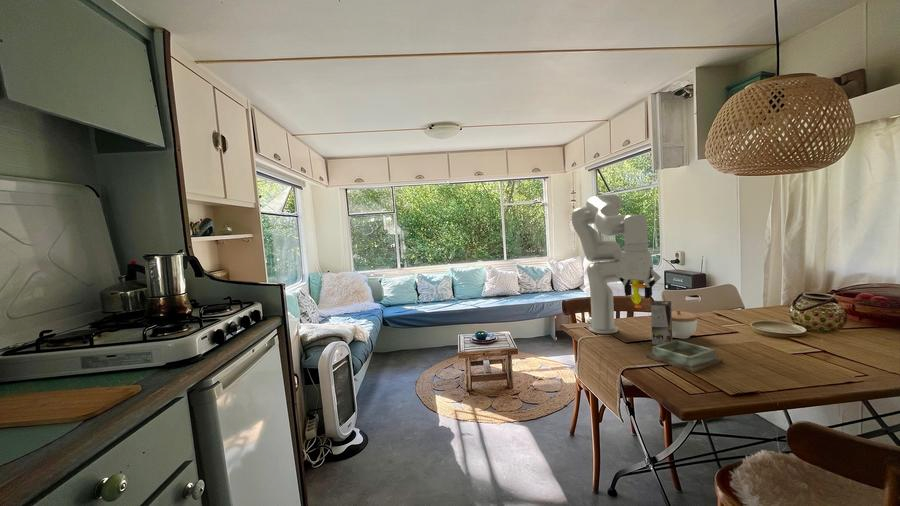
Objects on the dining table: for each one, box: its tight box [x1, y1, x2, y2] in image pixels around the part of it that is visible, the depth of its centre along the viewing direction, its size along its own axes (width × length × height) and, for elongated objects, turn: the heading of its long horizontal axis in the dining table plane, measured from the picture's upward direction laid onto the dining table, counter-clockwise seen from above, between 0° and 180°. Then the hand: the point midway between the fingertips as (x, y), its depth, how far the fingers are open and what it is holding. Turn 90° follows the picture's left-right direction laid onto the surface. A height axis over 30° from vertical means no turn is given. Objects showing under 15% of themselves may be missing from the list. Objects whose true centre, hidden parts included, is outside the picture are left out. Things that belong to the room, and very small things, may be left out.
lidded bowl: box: [671, 309, 698, 340], centre depth 145 cm, size 13×13×11 cm
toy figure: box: [630, 280, 646, 309], centre depth 128 cm, size 7×4×12 cm, turn 21°
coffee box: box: [650, 300, 673, 346], centre depth 139 cm, size 9×6×16 cm
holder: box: [645, 339, 723, 374], centre depth 121 cm, size 16×16×4 cm
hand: (638, 296), depth 128 cm, fingers closed on toy figure, 6 cm apart
